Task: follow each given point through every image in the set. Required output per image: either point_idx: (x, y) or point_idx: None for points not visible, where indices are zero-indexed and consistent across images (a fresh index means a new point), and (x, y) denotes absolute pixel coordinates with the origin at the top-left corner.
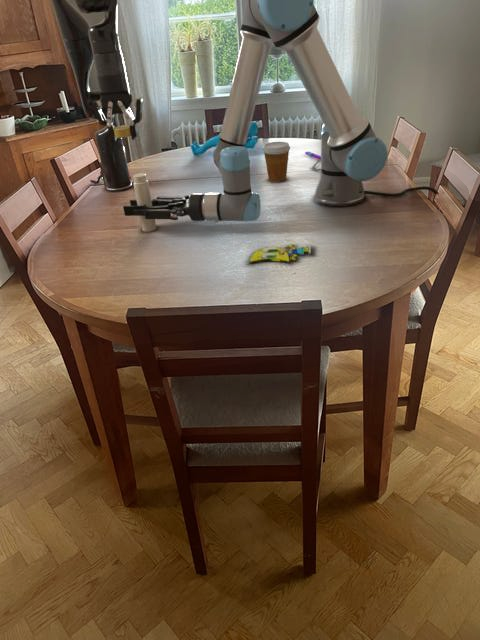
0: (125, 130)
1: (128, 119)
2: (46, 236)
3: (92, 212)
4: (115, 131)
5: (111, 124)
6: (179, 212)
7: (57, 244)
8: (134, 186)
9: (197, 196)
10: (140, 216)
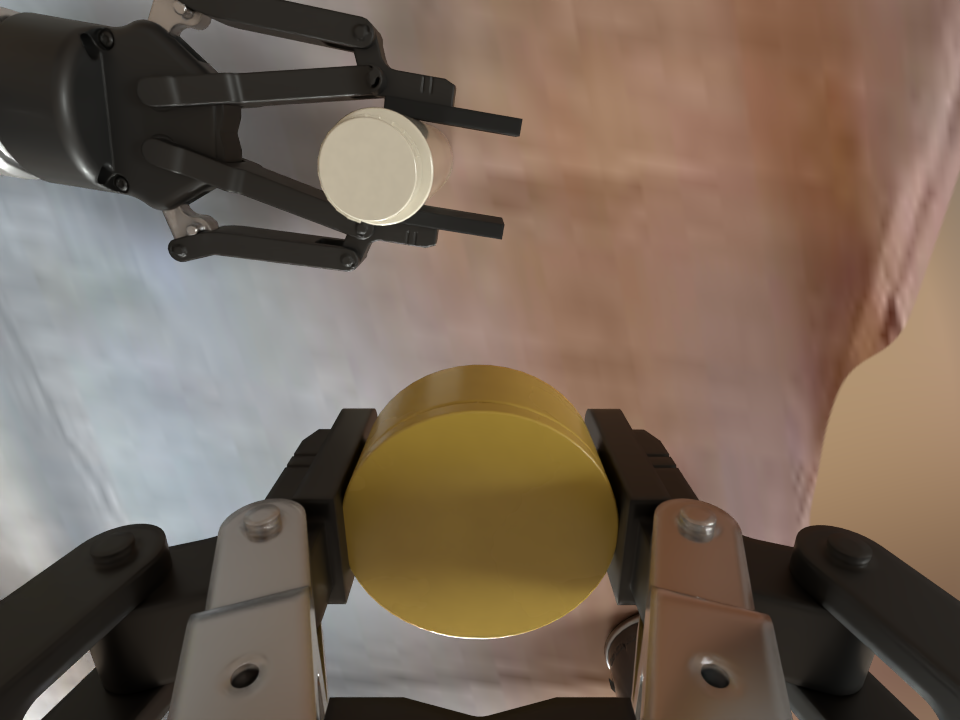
0: (400, 420)
1: (286, 575)
2: (918, 139)
3: (728, 405)
4: (567, 424)
5: (649, 543)
6: (152, 5)
7: (853, 16)
8: (421, 130)
9: (4, 69)
10: (436, 131)
